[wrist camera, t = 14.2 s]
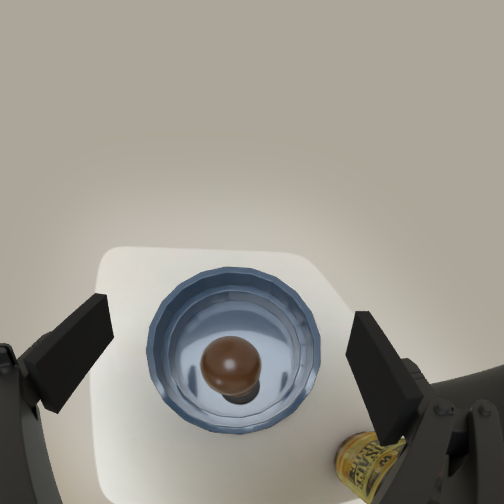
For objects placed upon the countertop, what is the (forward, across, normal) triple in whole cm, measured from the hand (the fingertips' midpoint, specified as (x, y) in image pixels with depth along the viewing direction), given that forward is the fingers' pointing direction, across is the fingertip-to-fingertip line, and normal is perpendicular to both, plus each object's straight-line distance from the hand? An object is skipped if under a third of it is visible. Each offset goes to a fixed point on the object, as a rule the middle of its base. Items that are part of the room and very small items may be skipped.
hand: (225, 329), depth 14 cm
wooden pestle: (+8, 0, +11) cm, 14 cm away
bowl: (+11, 0, +10) cm, 15 cm away
